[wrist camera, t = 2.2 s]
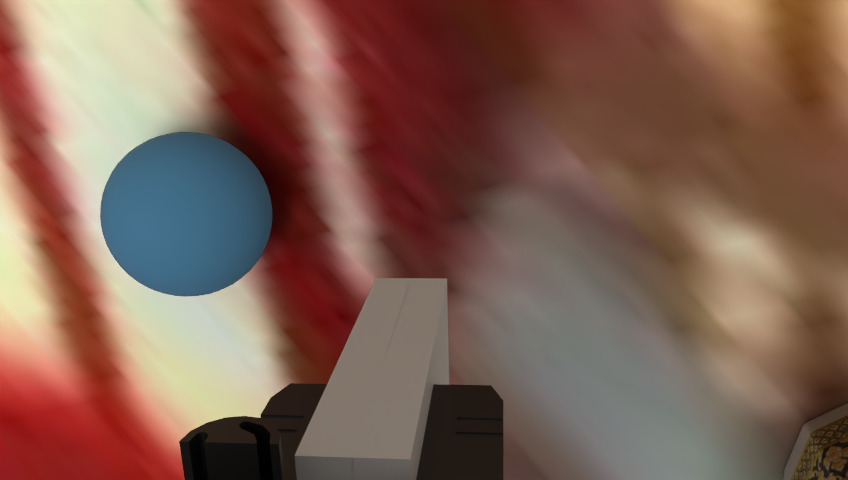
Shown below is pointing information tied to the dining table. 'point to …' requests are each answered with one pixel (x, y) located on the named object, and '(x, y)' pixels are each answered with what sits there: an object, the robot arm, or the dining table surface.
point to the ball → (186, 214)
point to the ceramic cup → (821, 448)
